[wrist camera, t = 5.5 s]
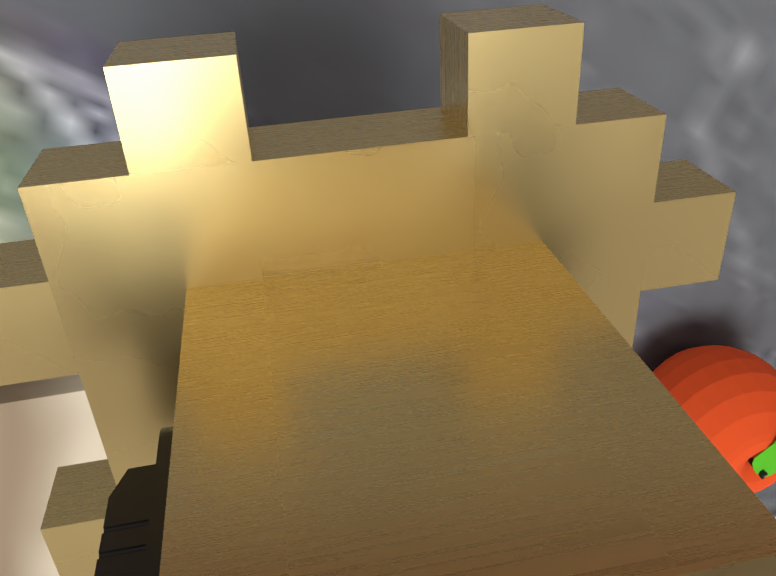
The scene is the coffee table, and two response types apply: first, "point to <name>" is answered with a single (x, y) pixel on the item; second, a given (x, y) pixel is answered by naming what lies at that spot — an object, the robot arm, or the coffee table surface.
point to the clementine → (729, 405)
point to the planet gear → (380, 322)
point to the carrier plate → (38, 463)
